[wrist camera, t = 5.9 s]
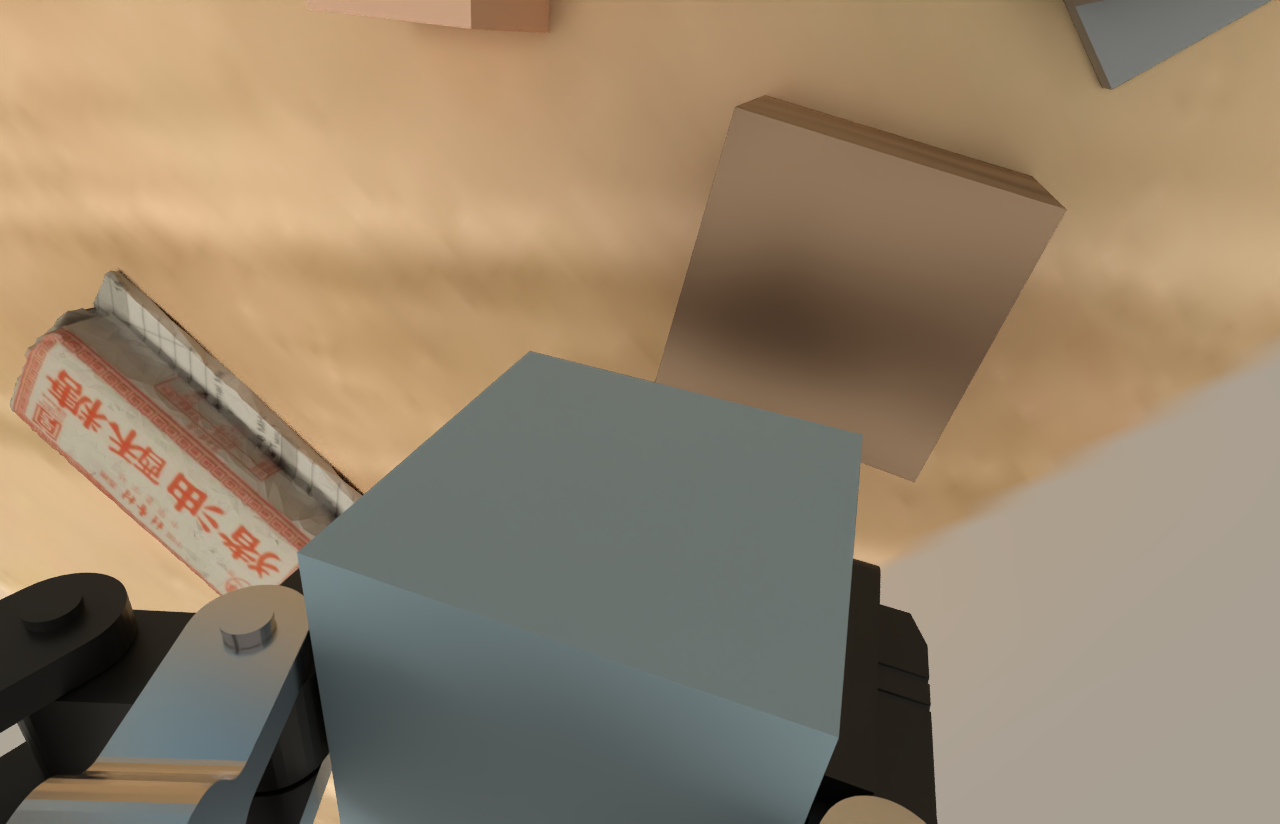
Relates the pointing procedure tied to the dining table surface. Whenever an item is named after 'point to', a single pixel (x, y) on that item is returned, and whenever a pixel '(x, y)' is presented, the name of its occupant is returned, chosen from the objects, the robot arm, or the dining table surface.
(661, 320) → the dining table surface
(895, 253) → the walnut block
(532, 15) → the terracotta block
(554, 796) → the blue block
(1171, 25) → the display stand
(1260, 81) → the dining table surface
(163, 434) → the packaged product
